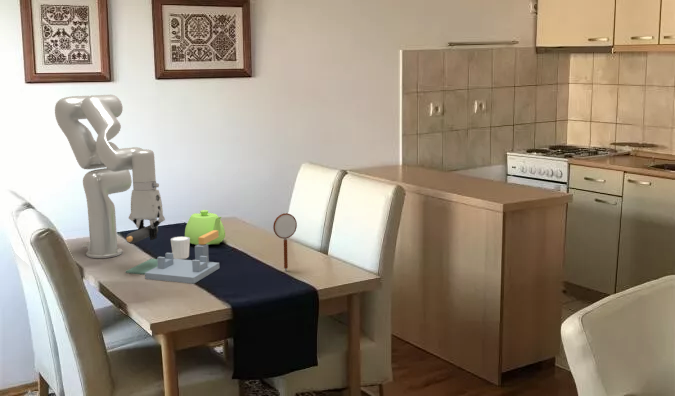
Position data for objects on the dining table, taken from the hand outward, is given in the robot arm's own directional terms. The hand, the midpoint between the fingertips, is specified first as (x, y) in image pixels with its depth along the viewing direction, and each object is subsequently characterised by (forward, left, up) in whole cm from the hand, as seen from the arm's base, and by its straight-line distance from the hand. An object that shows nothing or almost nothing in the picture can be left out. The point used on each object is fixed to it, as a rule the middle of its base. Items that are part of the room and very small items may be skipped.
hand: (148, 238), depth 255 cm
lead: (0, -3, +1) cm, 3 cm away
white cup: (+4, +15, -11) cm, 19 cm away
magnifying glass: (+47, +10, -11) cm, 49 cm away
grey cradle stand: (+15, -3, -10) cm, 18 cm away
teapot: (+4, +35, -11) cm, 37 cm away
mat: (0, 0, -10) cm, 10 cm away
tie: (+18, +10, -2) cm, 21 cm away
